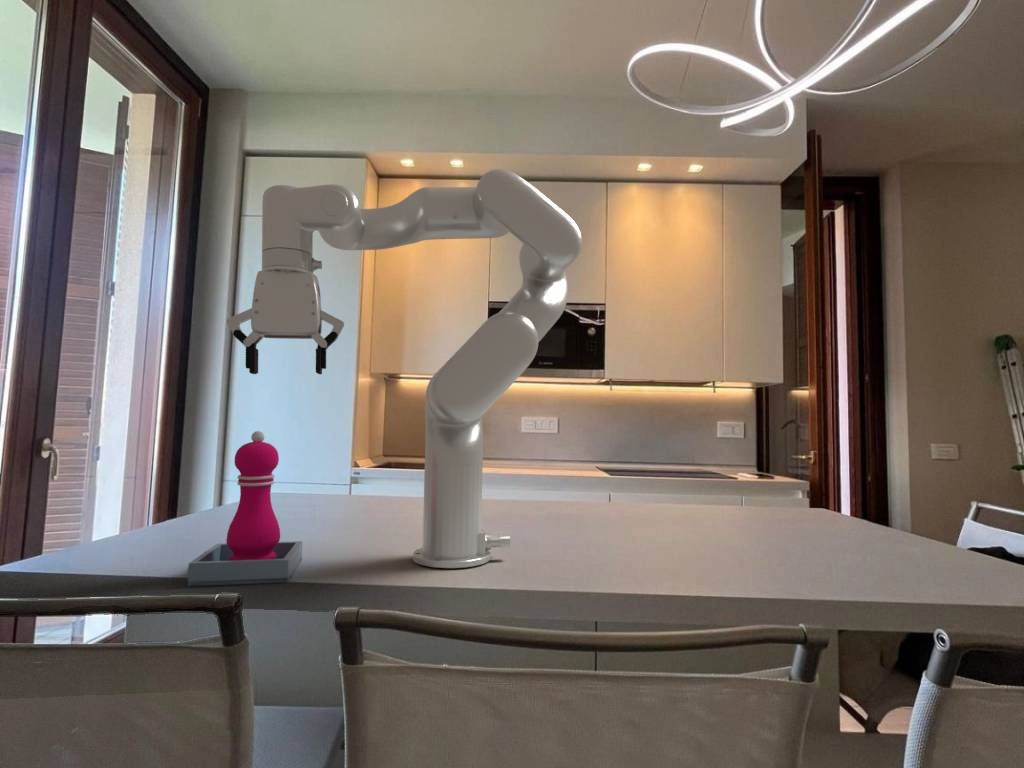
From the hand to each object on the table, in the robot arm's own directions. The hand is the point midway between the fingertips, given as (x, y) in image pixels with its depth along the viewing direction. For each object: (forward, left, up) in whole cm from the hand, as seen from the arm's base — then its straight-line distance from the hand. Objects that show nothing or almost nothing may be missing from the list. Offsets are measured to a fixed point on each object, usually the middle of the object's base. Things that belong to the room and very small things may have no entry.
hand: (286, 373), depth 89 cm
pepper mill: (+3, +3, -29) cm, 30 cm away
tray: (+3, +3, -30) cm, 30 cm away
